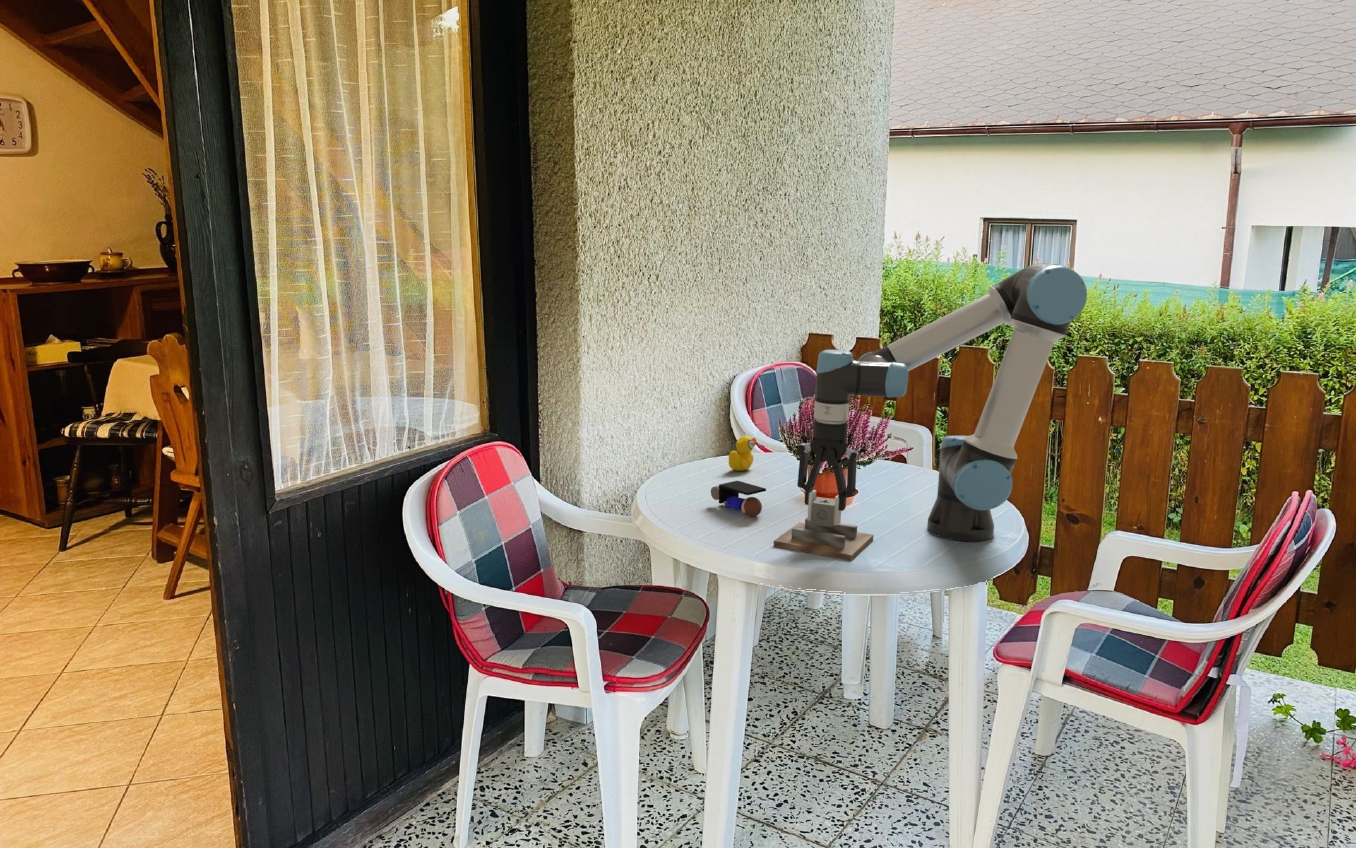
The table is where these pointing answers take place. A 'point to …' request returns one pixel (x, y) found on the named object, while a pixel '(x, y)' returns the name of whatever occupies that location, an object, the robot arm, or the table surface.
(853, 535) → the cradle
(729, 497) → the figurine character
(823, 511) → the dice cube
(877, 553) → the table surface
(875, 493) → the table surface
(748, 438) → the duckling
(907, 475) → the table surface
